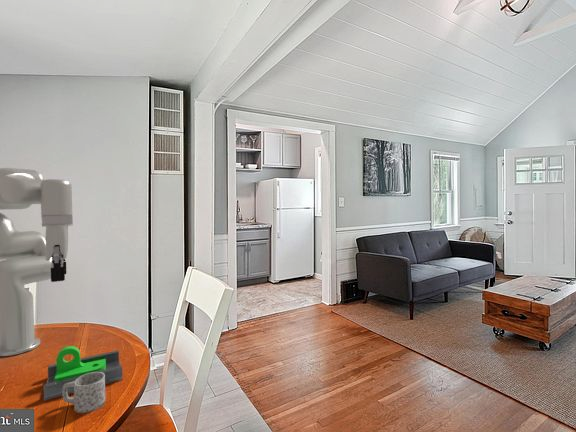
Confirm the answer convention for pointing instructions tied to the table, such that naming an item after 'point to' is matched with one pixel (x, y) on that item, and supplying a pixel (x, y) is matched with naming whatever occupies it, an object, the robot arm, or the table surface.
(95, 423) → the table surface
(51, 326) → the table surface
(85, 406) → the mug
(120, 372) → the cradle
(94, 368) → the mechanical part
